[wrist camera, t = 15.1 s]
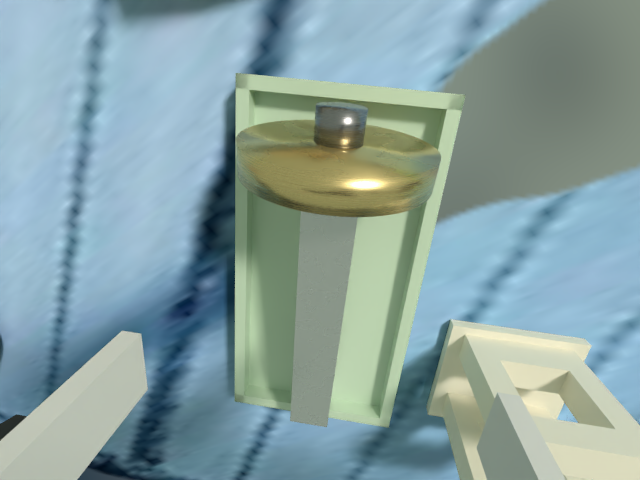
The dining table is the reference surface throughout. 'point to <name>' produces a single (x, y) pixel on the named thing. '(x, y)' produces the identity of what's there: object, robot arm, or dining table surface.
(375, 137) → the gold disc post
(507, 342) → the double loop bracket
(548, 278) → the dining table surface
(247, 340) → the tray
